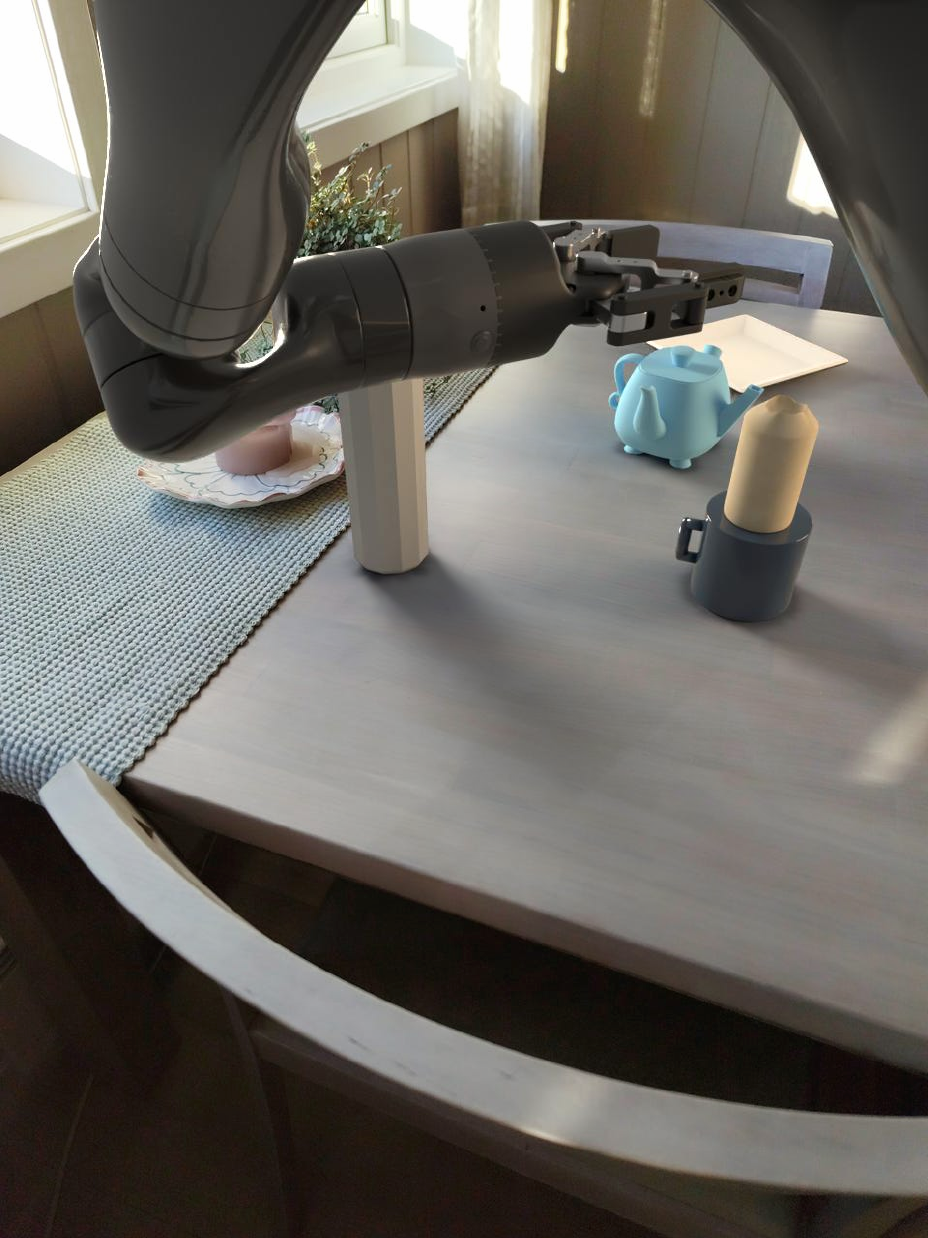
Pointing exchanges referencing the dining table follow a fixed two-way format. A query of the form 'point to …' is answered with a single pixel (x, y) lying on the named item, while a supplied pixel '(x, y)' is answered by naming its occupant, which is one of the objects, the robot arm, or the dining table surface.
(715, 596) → the mug
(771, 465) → the candle
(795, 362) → the plate
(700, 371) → the teapot
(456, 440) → the dining table surface
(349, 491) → the water bottle
